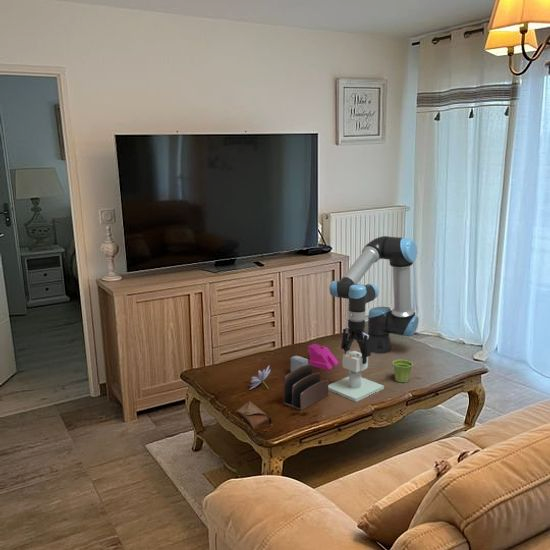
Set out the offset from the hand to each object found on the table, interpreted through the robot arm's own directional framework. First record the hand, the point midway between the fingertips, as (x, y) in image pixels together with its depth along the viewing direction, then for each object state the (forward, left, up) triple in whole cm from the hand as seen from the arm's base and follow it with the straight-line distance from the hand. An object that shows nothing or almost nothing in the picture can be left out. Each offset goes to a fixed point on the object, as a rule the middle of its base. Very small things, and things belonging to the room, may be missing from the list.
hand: (355, 367), depth 257 cm
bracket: (-11, -30, -11) cm, 34 cm away
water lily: (+30, -32, -11) cm, 45 cm away
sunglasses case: (+52, -11, -11) cm, 54 cm away
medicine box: (+7, -29, -11) cm, 32 cm away
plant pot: (-24, +9, -11) cm, 28 cm away
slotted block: (0, 0, 0) cm, 0 cm away
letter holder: (+24, -7, -11) cm, 28 cm away
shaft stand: (0, 0, -11) cm, 11 cm away
